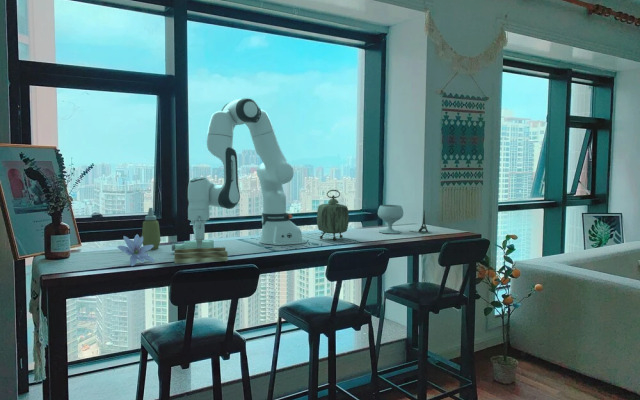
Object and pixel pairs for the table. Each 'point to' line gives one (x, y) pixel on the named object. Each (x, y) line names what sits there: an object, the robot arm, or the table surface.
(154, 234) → the squeeze bottle
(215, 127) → the robot arm
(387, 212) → the chalice
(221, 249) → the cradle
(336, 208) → the tabletop clock
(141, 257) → the water lily
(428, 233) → the eiffel tower figurine
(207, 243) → the bottle
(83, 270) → the table surface
